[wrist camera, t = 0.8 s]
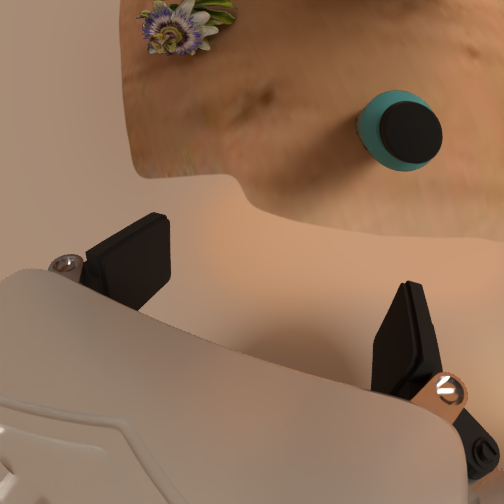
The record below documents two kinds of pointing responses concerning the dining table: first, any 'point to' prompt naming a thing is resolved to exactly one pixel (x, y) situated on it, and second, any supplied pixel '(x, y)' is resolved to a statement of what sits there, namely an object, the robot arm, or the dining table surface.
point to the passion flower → (183, 25)
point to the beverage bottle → (400, 130)
